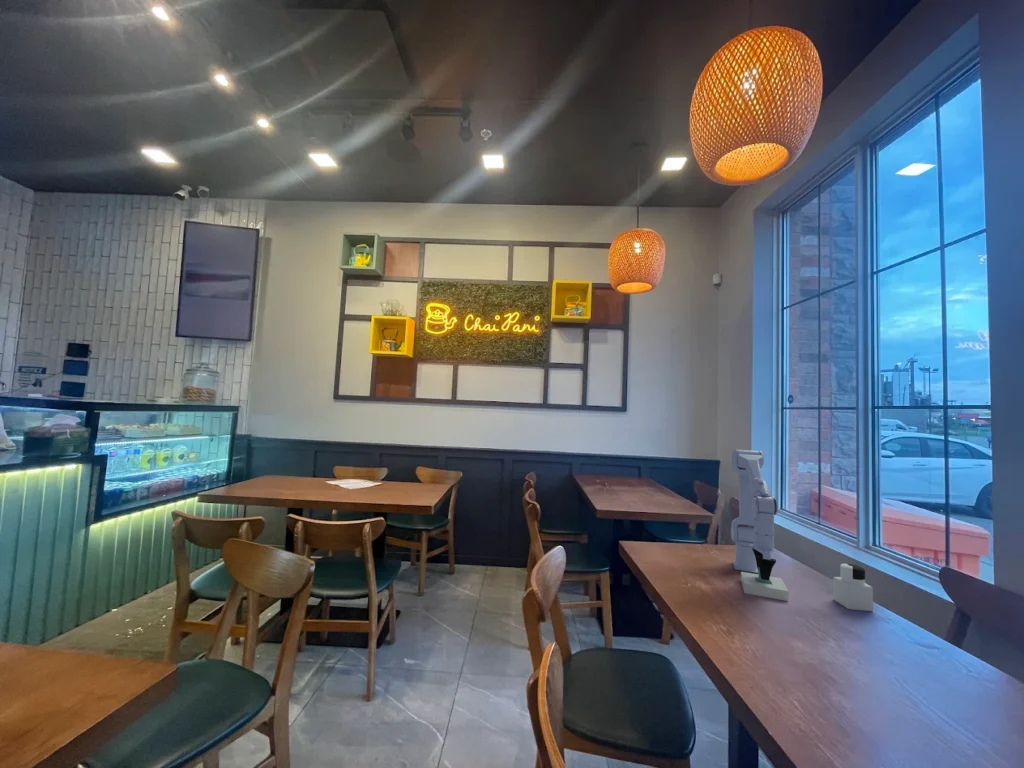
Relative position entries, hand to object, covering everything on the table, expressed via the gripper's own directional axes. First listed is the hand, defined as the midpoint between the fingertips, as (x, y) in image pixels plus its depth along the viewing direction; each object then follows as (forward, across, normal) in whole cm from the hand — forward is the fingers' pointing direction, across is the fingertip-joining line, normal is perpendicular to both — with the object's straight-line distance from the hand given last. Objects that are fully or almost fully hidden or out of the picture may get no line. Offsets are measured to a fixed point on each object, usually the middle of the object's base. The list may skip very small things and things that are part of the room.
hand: (763, 575), depth 141 cm
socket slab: (+5, 0, 0) cm, 5 cm away
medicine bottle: (+5, -1, +24) cm, 24 cm away
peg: (+5, 0, 0) cm, 5 cm away
